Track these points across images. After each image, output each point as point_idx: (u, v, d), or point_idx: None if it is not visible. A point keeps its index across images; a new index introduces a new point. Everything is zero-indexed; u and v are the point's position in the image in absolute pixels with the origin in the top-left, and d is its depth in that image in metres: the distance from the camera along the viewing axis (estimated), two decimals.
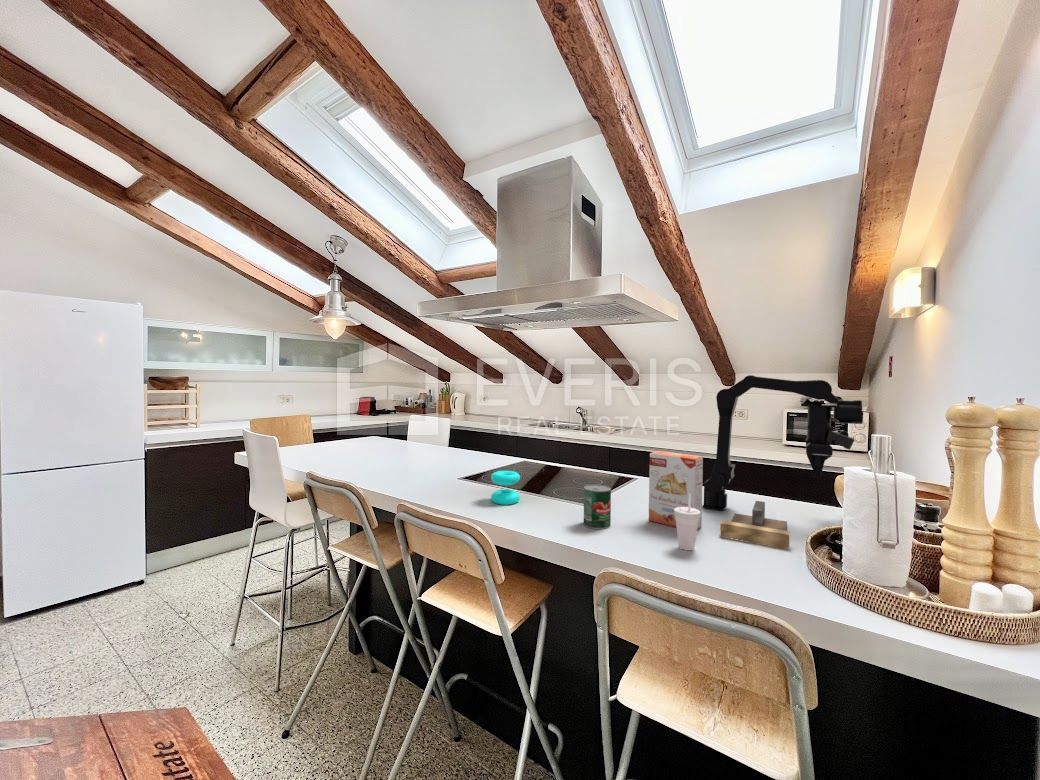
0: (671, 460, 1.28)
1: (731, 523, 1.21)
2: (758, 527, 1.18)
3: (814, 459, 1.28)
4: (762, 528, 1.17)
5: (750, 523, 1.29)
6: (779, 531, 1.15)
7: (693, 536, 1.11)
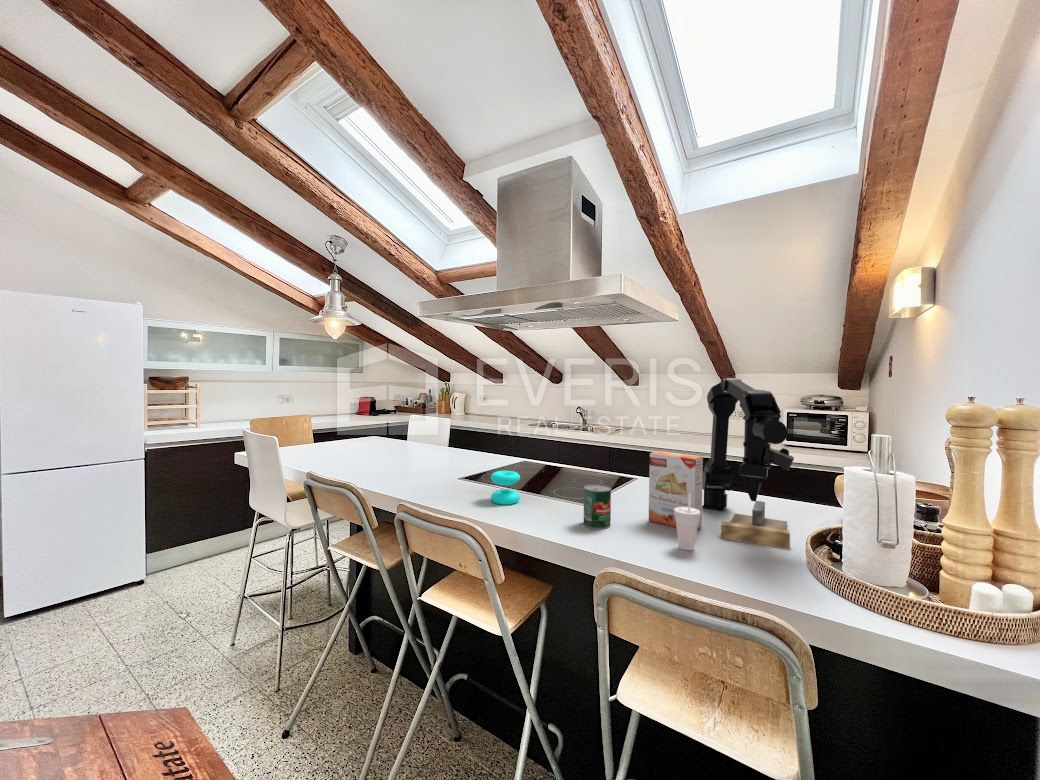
0: (671, 460, 1.28)
1: (731, 524, 1.20)
2: (758, 527, 1.18)
3: (749, 481, 1.13)
4: (762, 528, 1.17)
5: (750, 523, 1.29)
6: (779, 530, 1.16)
7: (693, 536, 1.11)
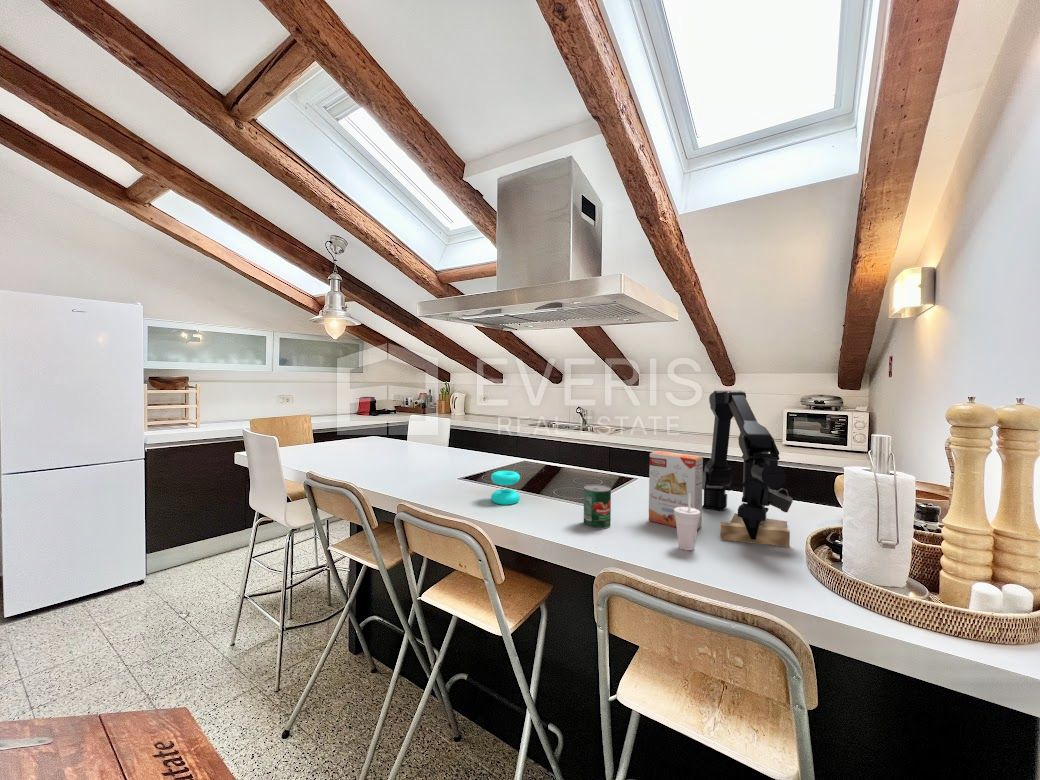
0: (671, 460, 1.28)
1: (731, 524, 1.20)
2: None
3: (748, 520, 1.16)
4: (762, 527, 1.18)
5: None
6: (778, 529, 1.16)
7: (693, 536, 1.11)
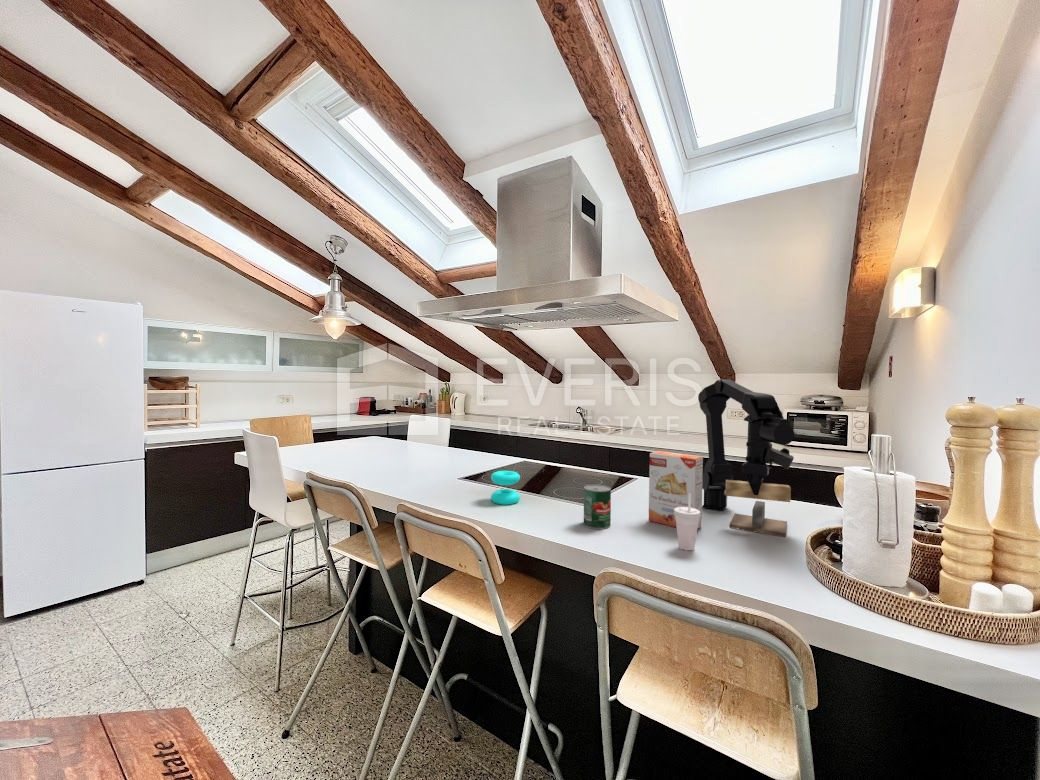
0: (671, 460, 1.28)
1: (735, 481, 1.28)
2: (761, 483, 1.26)
3: (752, 477, 1.24)
4: (765, 484, 1.25)
5: (750, 523, 1.29)
6: (780, 485, 1.24)
7: (693, 536, 1.11)
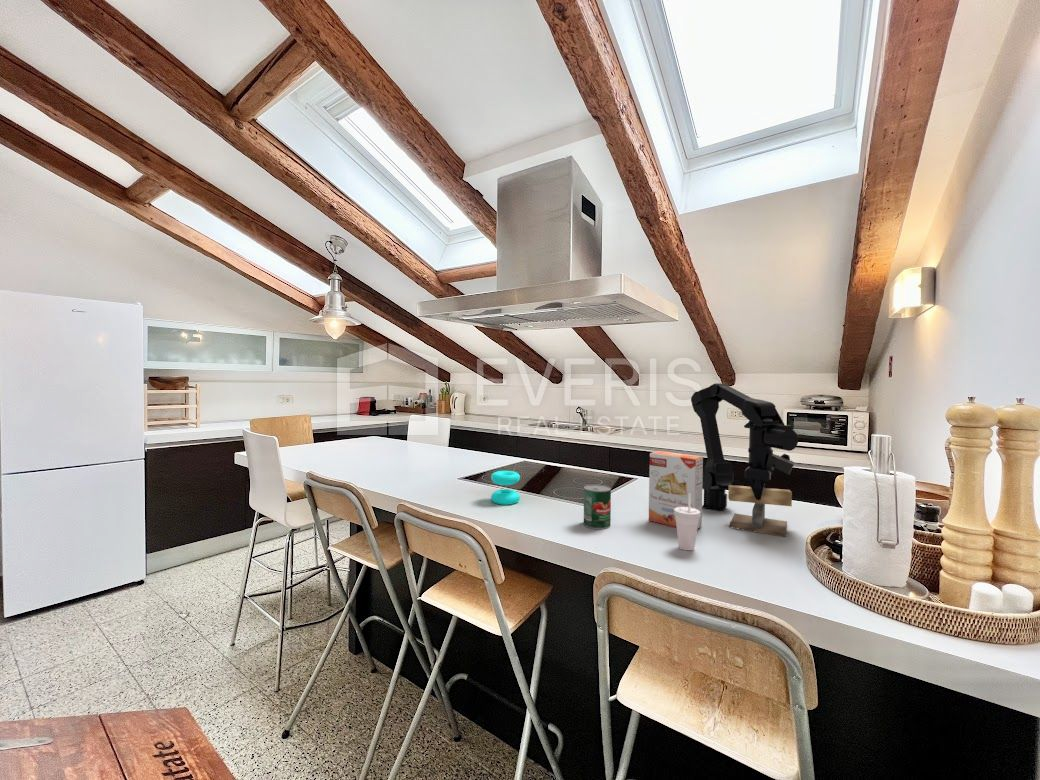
0: (671, 460, 1.28)
1: (738, 486, 1.31)
2: None
3: (754, 482, 1.27)
4: (766, 489, 1.29)
5: (750, 523, 1.29)
6: (782, 490, 1.28)
7: (693, 536, 1.11)
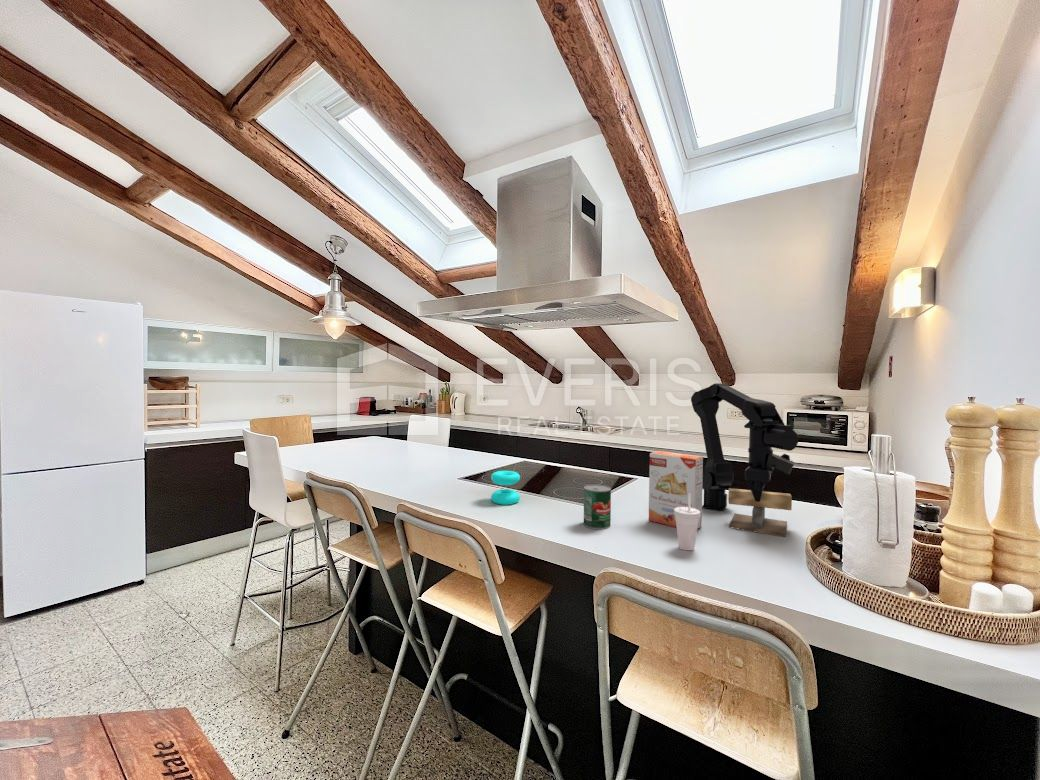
0: (671, 460, 1.28)
1: (738, 490, 1.32)
2: (762, 492, 1.30)
3: (753, 483, 1.25)
4: (766, 492, 1.29)
5: (750, 523, 1.29)
6: (782, 494, 1.27)
7: (693, 536, 1.11)
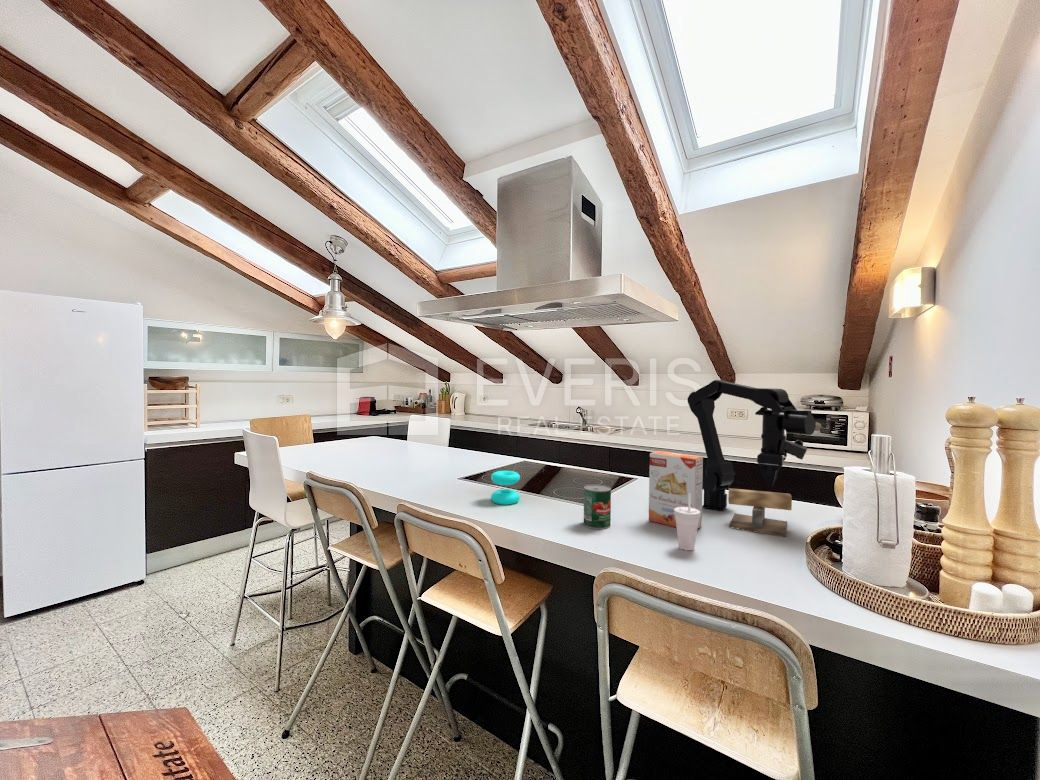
0: (671, 460, 1.28)
1: (738, 490, 1.32)
2: (762, 492, 1.30)
3: (766, 469, 1.27)
4: (766, 492, 1.29)
5: (750, 523, 1.29)
6: (782, 494, 1.27)
7: (693, 536, 1.11)
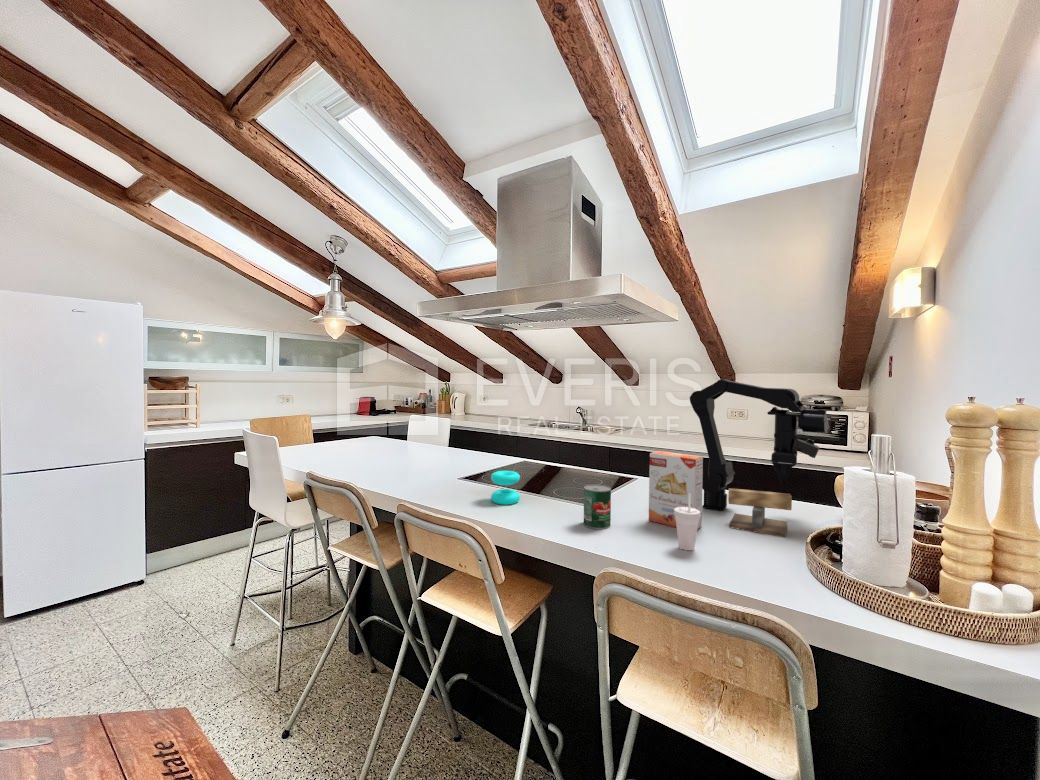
0: (671, 460, 1.28)
1: (738, 490, 1.32)
2: (762, 492, 1.30)
3: (780, 467, 1.29)
4: (766, 492, 1.29)
5: (750, 523, 1.29)
6: (782, 494, 1.27)
7: (693, 536, 1.11)
